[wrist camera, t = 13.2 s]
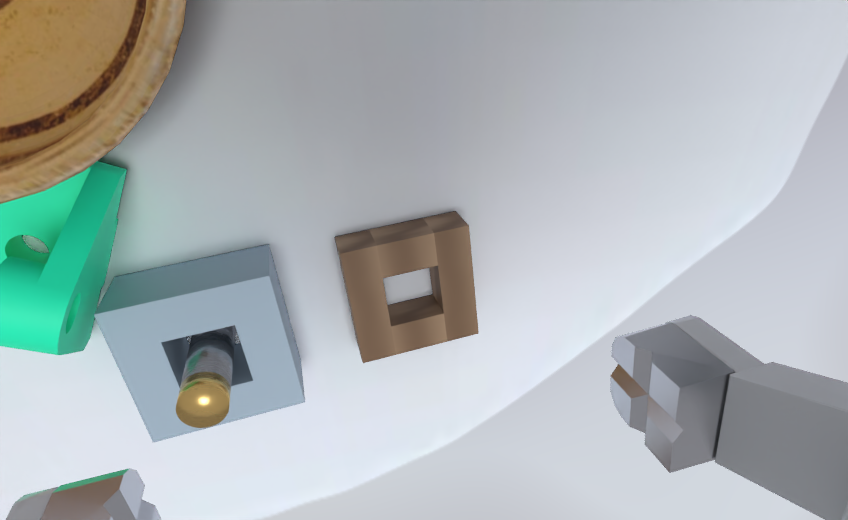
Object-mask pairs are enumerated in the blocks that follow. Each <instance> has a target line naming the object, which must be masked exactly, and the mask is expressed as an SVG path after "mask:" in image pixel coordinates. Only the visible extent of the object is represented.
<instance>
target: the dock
mask: <svg viewBox="0 0 848 520" xmlns="http://www.w3.org/2000/svg"><path fill="white" fill-rule="evenodd" d="M94 316H95V318H96V321H97V323H98V325H99V327H100V329H101V331H102V333H103V336H104V338H105V340H106V342H107V344H108V346H109V348H110V351H111V353H112V355H113V357H114V359H115V361H116V364H117V366H118V368H119V370H120V372H121V374H122V376H123V379H124V381H125V383H126V385H127V387H128V389H129V391H130V394H131V396H132V398H133V400H134V402H135V404H136V406H137V409H138V411H139V413H140V415H141V417H142V419H143V421H144V424H145V426H146V428H147V430H148V432H149V434H150V437H151V439H152V441H153V442H157V441H161V440H164V439H168V438H172V437H176V436H179V435H183V434H187V433H191V432H194V431H198V430H202V429H206V428H195V427H191V426H188V425H186V424H184V423H183V422H182V421H181V420H180V419H179V418H178V416H177V414H176V404H177V399H178V395H179V390H180V386H181V381H182V377H183V372H184V368H185V363H186V359H187V354H188V350H189V343H188V341H187V338H186V336H191V335H195V334H199V333H203V332H208V331H212V330H216V329H220V328H225V327H229V326H233V325H235V327H236V330H237V333H238V336H239V339H240V342H241V343H240V344H235V348H234V360H233V371H232V382H231V393H230V404H229V412H228V414H227V416H226V417H225V418H224V419H223V420H222V421H221V422H220V423H218V424H216V425H214V426H217V425H221V424H225V423H228V422H232V421H236V420H240V419H243V418H247V417H251V416H255V415H258V414H262V413H266V412H270V411H273V410H277V409H281V408H285V407H288V406H292V405H296V404H300V403H303V402H305V397H304V387H303V377H302V367H301V360H300V356H299V352H298V349H297V345H296V341H295V338H294V334H293V330H292V327H291V323H290V320H289V316H288V312H287V309H286V305H285V301H284V298H283V294H282V291H281V287H280V283H279V280H278V276H277V272H276V269H275V265H274V261H273V258H272V254H271V251H270V247H269V244H267V245H263V246H258V247H253V248H248V249H244V250H239V251H234V252H230V253H225V254H220V255H215V256H211V257H206V258H201V259H197V260H192V261H187V262H182V263H178V264H173V265H168V266H164V267H159V268H154V269H149V270H145V271H140V272H135V273H131V274H126V275H121V276H116V277H114V279H113V281H112V283H111V285H110V286H109V288H108V290H107V292H106V294H105V295H104V297H103V299H102V301H101V303H100V304H99V306H98V308H97V310H96V312H95V313H94ZM211 427H213V426H211ZM207 428H209V427H207Z"/></svg>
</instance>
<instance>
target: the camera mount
mask: <svg viewBox="0 0 848 520" xmlns="http://www.w3.org/2000/svg"><path fill="white" fill-rule="evenodd" d="M126 171H127V169H124V168H120V167H117V166H113V165H109V164H106V163H102V162H99V161H96V162H95V163H94V164H93V165H91V166H90V167H89V168H87V169H86V170H85V171H83V172H81V173H79V174H77V175H75V176H73V177H71V178H69V179H67V180H65V181H63V182H61V183H59V184H57V185H55V186H53V187H51V188H49V189H47V190H45V191H42V192H39V193H36V194H32V195H29V196H26V197H22V198H19V199H16V200H12V201H9V202H6V203H2V204H0V346H4V347H10V348H17V349H23V350H30V351H36V352H42V353H49V354H55V355H63V354H68V353H73V352H78V351H83V350H84V348H85V346H86V345H87V343H88V341H89V339H90V336H91V331H92V327H93V322H94V318H95V316H94V313H95V312H96V309H97V304H98V299H99V295H100V290H101V288H102V286H103V285H104V282H105V278H106V273H107V269H108V264H109V260H110V255H111V251H112V246H113V241H114V237H115V232H116V228H117V223H118V219H117V218H116V217H117V213H118V208H119V203H120V199H121V194H122V190H123V185H124V181H125V176H126ZM22 235H30V236H33V237H36V238H38V239H40V240H41V241H42V242H44V243H45V245H46V246H47V248H48V250H49V253H40V252H37V251H34V250H32V249H31V248H29V247H28V246H27V245H26V244H25V243H24V241H23V239H22Z"/></svg>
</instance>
